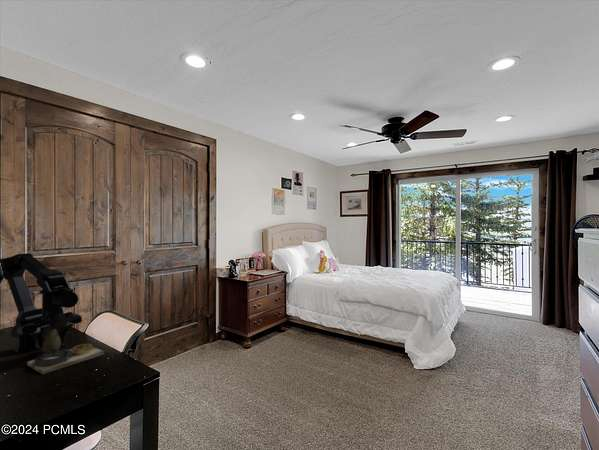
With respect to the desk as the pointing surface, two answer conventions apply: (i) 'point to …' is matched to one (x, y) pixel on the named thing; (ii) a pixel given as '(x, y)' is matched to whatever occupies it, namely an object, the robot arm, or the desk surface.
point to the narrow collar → (82, 349)
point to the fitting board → (71, 361)
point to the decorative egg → (51, 340)
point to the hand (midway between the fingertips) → (50, 346)
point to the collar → (64, 355)
